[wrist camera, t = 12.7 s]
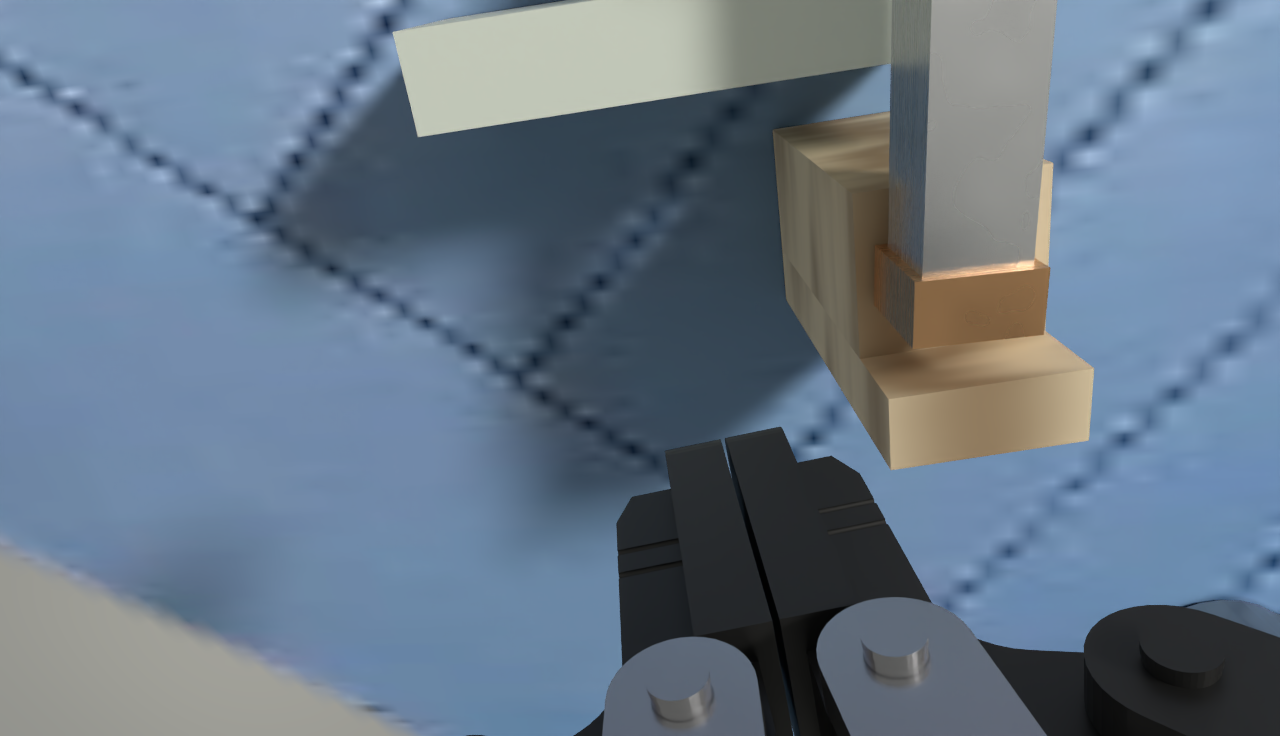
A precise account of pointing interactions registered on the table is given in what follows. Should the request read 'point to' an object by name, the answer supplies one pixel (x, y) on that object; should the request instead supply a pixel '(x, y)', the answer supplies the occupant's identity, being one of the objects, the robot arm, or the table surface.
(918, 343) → the bar
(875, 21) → the door edge
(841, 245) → the keeper
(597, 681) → the table surface
